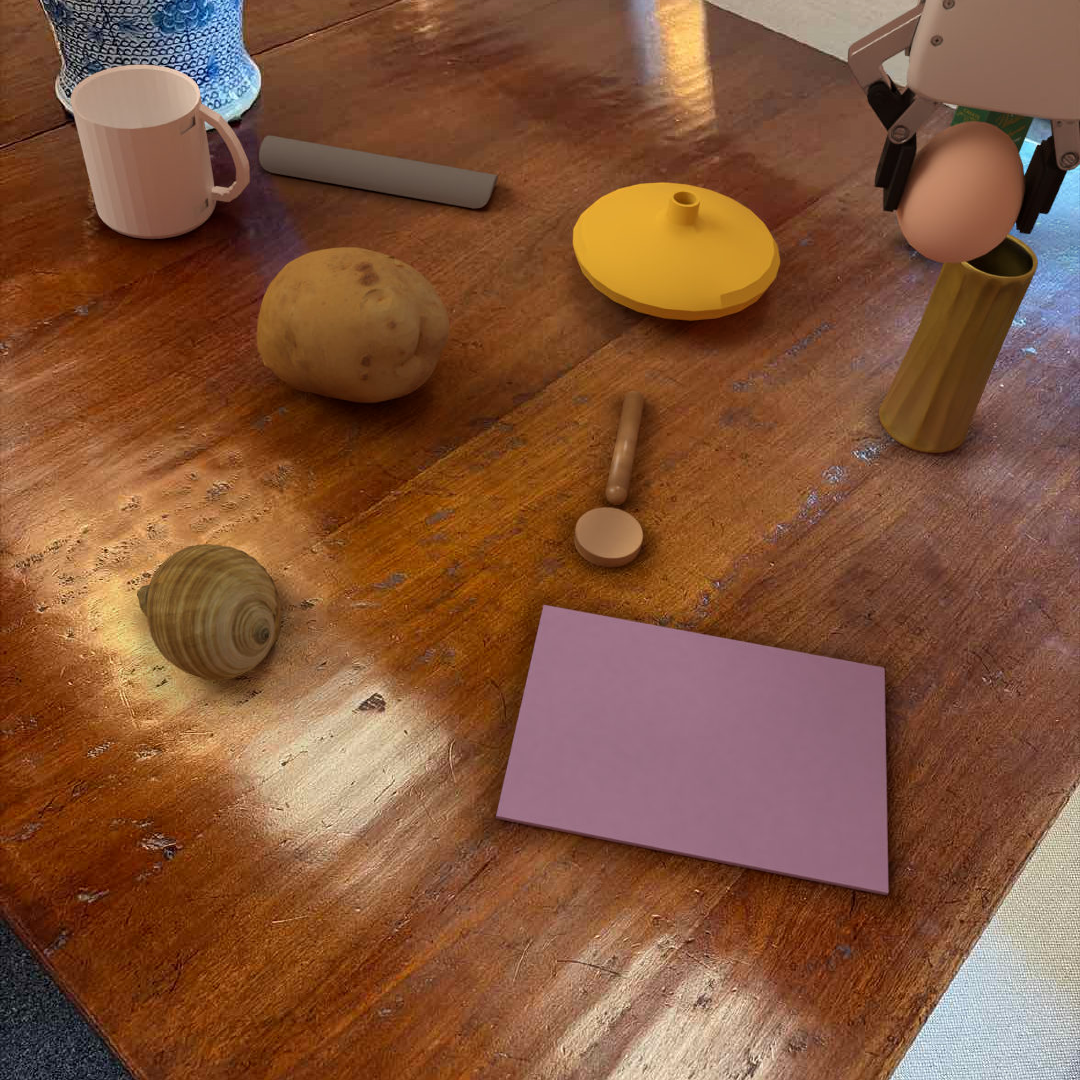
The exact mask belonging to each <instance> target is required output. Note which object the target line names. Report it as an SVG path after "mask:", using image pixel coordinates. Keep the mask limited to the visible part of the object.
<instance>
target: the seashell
mask: <svg viewBox="0 0 1080 1080" xmlns="http://www.w3.org/2000/svg"><path fill="white" fill-rule="evenodd" d="M136 597H137V598H138V604H139V605H138V606H139V608H140V610H141V612H142V613H143V615H144V616H145V617H146V619H147V624H148V629H149V632H150V637H151V639H152V640H153V643H154V644H155V646H156V648H157V649H158V651H159V652H160V653H161V655H162V656H163V657H164V658H165V659H166V660H167V661H168V662H169V663H170V664H171V665H173V666H175V667H176V668H178V669H179V670H181V671H183V672H184V673H187V674H188V675H190V676H194V677H195V678H200V679H203V680H211V681H223V680H229V679H233V678H237V677H239V676H242V675H245V674H246V673H248V672H249V671H251V670H252V669H254V668H255V667H256V666H257V665H259V664H260V663H261V662H262V661H263V660H264V659H265V658H266V657H267V655H268V654H269V652H270V650H271V648H272V647H274V646H275V644H276V642H277V640H278V638H279V635H280V633H281V630H282V606H281V601H280V595H279V592H278V589H277V587H276V584H275V581H274V579H273V578H272V576H271V574H269V572H268V571H267V569H266V568H265V566H263V565H262V564H261V563H260V562H259V561H258V560H257V559H256V558H254V557H253V556H252V555H249V554H248V553H247V552H246V551H243V550H240V549H237V548H235V547H232V546H226V545H221V544H213V543H212V544H211V543H209V544H206V543H205V544H195V545H190V546H187V547H185V548H183V549H180V550H177V551H175V552H174V553H173V554H172V555H170V556H168V557H167V558H166V559H165V560H164V561H163V562H162V563H161V564H160V565H159V566H158V568H157V569H156V570H155V572H154V573H153V575H152V577H151V580H150V582H149V584H145V585H142V586H141V587H140V588H139V590H137V593H136Z"/></svg>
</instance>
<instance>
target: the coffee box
mask: <svg viewBox="0 0 1080 1080" xmlns="http://www.w3.org/2000/svg"><path fill="white" fill-rule="evenodd" d="M1034 118H1035V117H1029V116H1022V115H1015V114H1009V113H1002V112H996V111H989V110H983V109H977V108H970V107H964V106H958V105H956V107H955V111H954V113H953V117H952V119H951V122H950V125H949V127H951V126H954V125H957V124H960V123H964V122H972V121H976V122H985V123H989V124H991V125H994V126H996V127H998V128H999V129H1000V130H1002V131H1003V132H1005V133H1006V134H1007V135H1009V137H1010V138H1011V139H1012V141H1013V142H1014V143H1015V145H1016V147H1017V149H1018V152H1019V154H1020V153H1021V150H1022V148H1023V145H1024V143H1025V140H1026V137H1027V135H1028V133H1029V131H1030V128H1031V125H1032V123H1033V121H1034ZM906 241H907V240H906ZM907 244H908V245H909V246H910V247H912V246H911V245H910V244H909V242H908V241H907Z"/></svg>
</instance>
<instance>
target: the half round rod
mask: <svg viewBox="0 0 1080 1080" xmlns="http://www.w3.org/2000/svg"><path fill="white" fill-rule="evenodd" d="M258 158H259V164H260V166H261V167H262V169H264V170H265V171H267V172H269V173H271V174H277V175H283V176H289V177H293V178H294V177H295V178H300V179H305V180H311V181H317V182H321V183H328V184H334V185H338V186H343V187H344V186H345V187H351V188H356V189H362V190H367V191H373V192H378V193H384V194H390V195H396V196H402V197H407V198H412V199H417V200H418V199H419V200H424V201H429V202H434V203H435V202H436V203H440V204H446V205H453V206H458V207H464V208H470V209H480V208H483V207H484V206H485V205H487V204H488V202H489V200H490V198H491V196H492V194H493V191H494V189H495V187H496V184H497V181H498V179H499V175H498V174H494V173H488V172H482V171H477V170H471V169H466V168H460V167H454V166H448V165H442V164H437V163H431V162H427V161H426V162H425V161H420V160H414V159H408V158H402V157H396V156H391V155H385V154H379V153H373V152H368V151H363V150H356V149H351V148H345V147H339V146H333V145H328V144H327V145H326V144H322V143H316V142H310V141H305V140H299V139H295V138H294V139H293V138H287V137H282V136H276V135H270V134H268V135H266V136H265V137H264V138H263V140H262V142H261V144H260V147H259V153H258Z"/></svg>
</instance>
